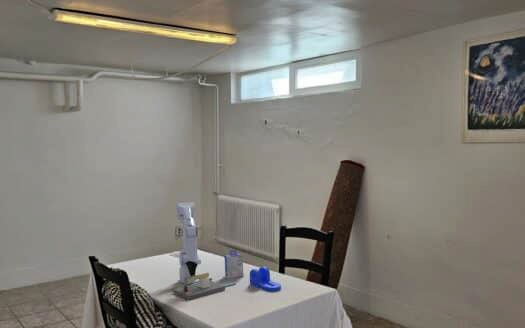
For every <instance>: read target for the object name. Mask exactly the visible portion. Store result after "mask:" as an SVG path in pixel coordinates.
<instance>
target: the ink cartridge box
mask: <svg viewBox="0 0 525 328" xmlns="http://www.w3.org/2000/svg"><path fill="white" fill-rule="evenodd" d="M224 274H225V275H224V276H226V277H227V278H226V279H233V278H239V277H244V255H243V254H242V253H237V251H236V250H235V249H233V250H229V254H227V255H224Z"/></svg>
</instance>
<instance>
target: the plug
mask: <svg viewBox="0 0 525 328" xmlns="http://www.w3.org/2000/svg"><path fill="white" fill-rule="evenodd" d="M198 280H199V282H198V283H199V285H198V287H200V288H202V289H204V288H208V287H211V285H210V281H212V280H213V278H212V277H211V278H210V277H205V278H201V279H198Z"/></svg>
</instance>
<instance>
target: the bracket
mask: <svg viewBox="0 0 525 328" xmlns="http://www.w3.org/2000/svg"><path fill="white" fill-rule="evenodd" d="M249 285H250V286H253V287H256V288H258V289H262V290H265V291H267V292H278V291H280V290H282V284H281V283H279V282H276V281H273V280H271V273H270V269H269V268H268V267H267V266H266V265H265V266H264V265H263V266H261V267H259V269H257V268H253V269H250V271H249Z"/></svg>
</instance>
